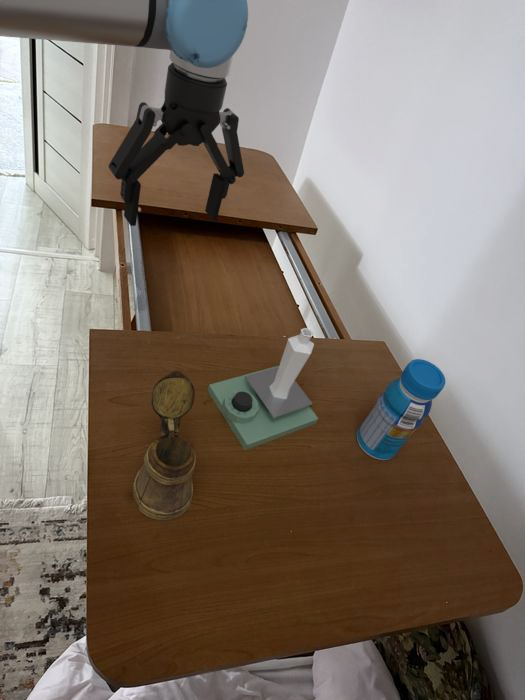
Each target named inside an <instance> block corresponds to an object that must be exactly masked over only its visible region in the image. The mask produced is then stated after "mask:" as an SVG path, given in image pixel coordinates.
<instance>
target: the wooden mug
mask: <svg viewBox="0 0 525 700" xmlns="http://www.w3.org/2000/svg"><path fill="white" fill-rule="evenodd" d="M195 391H196V390H195V387H194V384H193V383H192V381H191V379H190V378H188V377H187V375H185V374H183V373H182V371H179V370H177V369H174V370H173V371H171V372H169V373H168V374H165V376H163V377H162V378H161V379H159V380H158V381H157V382H156V383H155V385H154V386H153V389H152V393H151V407H152V410H153V411H154V413H155V414H156V415H157V416H158V417H159V419H161V421H160V428H159V429H160V430H159V433H161V434H160V436H159V437H158V438H156V439H155V440H154V441H153V442H152V443H151V444H150V445H149V447H148V448H147V450H146V452H145V454H144V455H143V456H144V457H143V465H142V467H141V468H140V469H139V470H138V471H137V473H136V476H135V477H134V481H133V483H132V486H131V487H132V495H133V500H134V503H135V504H136V507H137V509H138V510H139V512H141V514H142V515H145V516H146V517H147V518H150V519H153V520H157V521H170V520H171V521H172V520H173V519H175V518H179V517H180V516H182V515H183V514H185V513H186V512H187V510H188V509H189V508H190V506H191V503H192V501H193V493H194V486H193V474H194V472H195V469H196V453H195V447H194V444H193V443H192V442H191V441H190V440H189V439H187V438H185V437H184V436H181V435H179V434H178V433H179V432H180V427H181V425H180V424H181V418H182V417H184V416H186V415H187V414H188V413H189V412H190V410H192V408H193V406H194V402H195V396H196V393H195Z"/></svg>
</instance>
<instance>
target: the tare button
mask: <svg viewBox="0 0 525 700" xmlns="http://www.w3.org/2000/svg"><path fill="white" fill-rule="evenodd" d="M252 401H253V399H252V397H251V395H250V394H248V393H247V392H238V393H236V395H235V397H234V400H233V407H234V408H235V409H236V410H238V411H240V412H246V411H248V410H249V409H250V406H251V404H252Z"/></svg>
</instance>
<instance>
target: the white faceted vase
mask: <svg viewBox="0 0 525 700" xmlns="http://www.w3.org/2000/svg"><path fill="white" fill-rule="evenodd" d="M313 335H314V331H312V330H311V329H309V328H307V327H304V328H301V329H300V332H299V334H297V335H294V336H291V337H289V338H288V339H287V341H286V345H285V348H284V350H283V353H282V357H281V359H280V362H279V365H278V366H279V368H278V371H277V374H276V377H275V380H274V382H273V383H272V384H271V385H270V390H271V392H272V395H273V397H276V398H282V399H287V397H288V394H289V391H290V388H291V386H292V384H293V383H294V381H296V380H297V377H298V376H299V374H300V373H301V371H302V369H303V368H304V366H305V364H306V363H307V361H308V359H309V358H310V356H311V354H312V352H313V349H314V346H315V343H314V342H312V341H311V338H312V337H313Z"/></svg>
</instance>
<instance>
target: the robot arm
mask: <svg viewBox="0 0 525 700" xmlns="http://www.w3.org/2000/svg"><path fill="white" fill-rule="evenodd" d="M248 21H249V5H248V0H0V37H7V38H20V39H29V40H32V39H33V40H43V41H44V40H45V41H58V42H69V43H81V44H95V45H109V46H120V47H121V46H122V47H133V48H134V47H135V48H144V49H145V48H146V49H154V50H166V51H169V59H170V62H171V63H170V64H169V65H168V66H167V72H166V79H165V86H164V101H163V104H162V106H161V107H160V108H158V107H153V106H149V104H148V103H147V102H144V101H142V102H140V103H139V105H138V107H137V112H136V116H135V117H136V118H135V120H134V122H133V123H132V125H131V127H130V129H129V130H128V132H127V134H126V135H125V137H124V139H123V140H122V141H121V143H120V145H119V147H118V148H117V150H116V152H115V153H114V155H113V157H112V158H111V160H110V162H109V163H108V169H109V171H110V173H112V176H114V178H115V179H116V180H121V181H120V182H121V184H120V191H119V193H120V194H119V195H120V199H122V201H123V202H124V210H123V217H124V218H125V219H126V221H127V223H128V224H129V225H130V227H135V226H137V219H138V211H139V205H140V196H141V195H140V194H141V188H142V184H141V183H140V181H139V179H140V178H141V177H142V176H143V175H144V174H145V172H147V171H148V169H150V167H152V166H153V164H155V163H156V161H157V160H158V159H159V158H161V156H162V155H164V153H165V152H166V151H168V150H171V149H173V148H174V147H175V145H176V144H177V145H178V146H180V147H182V146H183V147H184V146H188V145H190V146H192V147H200V145H201V144H203V146H204V148H205V149H206V151H207V153H208V155H209V157H210V158H211V160H212V162H213V164H214V166H215V167H216V169H217V171H218V173H212V179H211V183H210V187H209V192H208V196H207V199H206V200H207V201H206V205H205V209H204V211H205V212H206V214H207V215H208V216H209V218H210V219H211V220H212V221H217V220H218V217H219V214H220V209H221V205H222V201H223V200H224V199H226V197H227V195H228V192H229V188H230V185H233V184H235V183H236V181H237V179H236V178H242V177H243V176H245V169H244V164H243V158H242V153H241V147H240V141H239V136H238V135H239V134H238V128H239V123H240V122H239V121H240V119H239V118H240V117H238V115H237V114H235V113H234V112H233V110H231V109H230V108H229V107H225V109H223V106H224V105H223V104H224V100H225V96H226V91H227V86H228V82H227V80H226V78H227V77H229V76H230V71H231V66H232V61H233V57H234V55H235V54H236V53H237V51H238V50H239V48H240V46H241V45H242V43H243V41H244V39H245V35H246V32H247V28H248ZM222 109H223V111H221V110H222ZM158 121H161V124H160V125H159V126H158V127H157V125H158ZM219 126H220V127H221V132H222V136H223V137H222V138H223V141H224V146H225V151H226V156H227V161H228V163H227V162H226V159H225V157H224V156H223V153H222V152H221V149H220V148H219V146H218V143H217V141H216V139H215V137H214V135H213V132H214V131H215V130H216V128H218V127H219ZM156 127H157V128H156ZM153 128H156V129H155V130H154V132H153V136H151V137H150V134H151V133H152V130H153ZM166 135H168V136H167V137H166ZM149 137H150V139H149V140H148V138H149ZM147 140H148V141H147ZM146 141H147V142H146Z"/></svg>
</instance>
